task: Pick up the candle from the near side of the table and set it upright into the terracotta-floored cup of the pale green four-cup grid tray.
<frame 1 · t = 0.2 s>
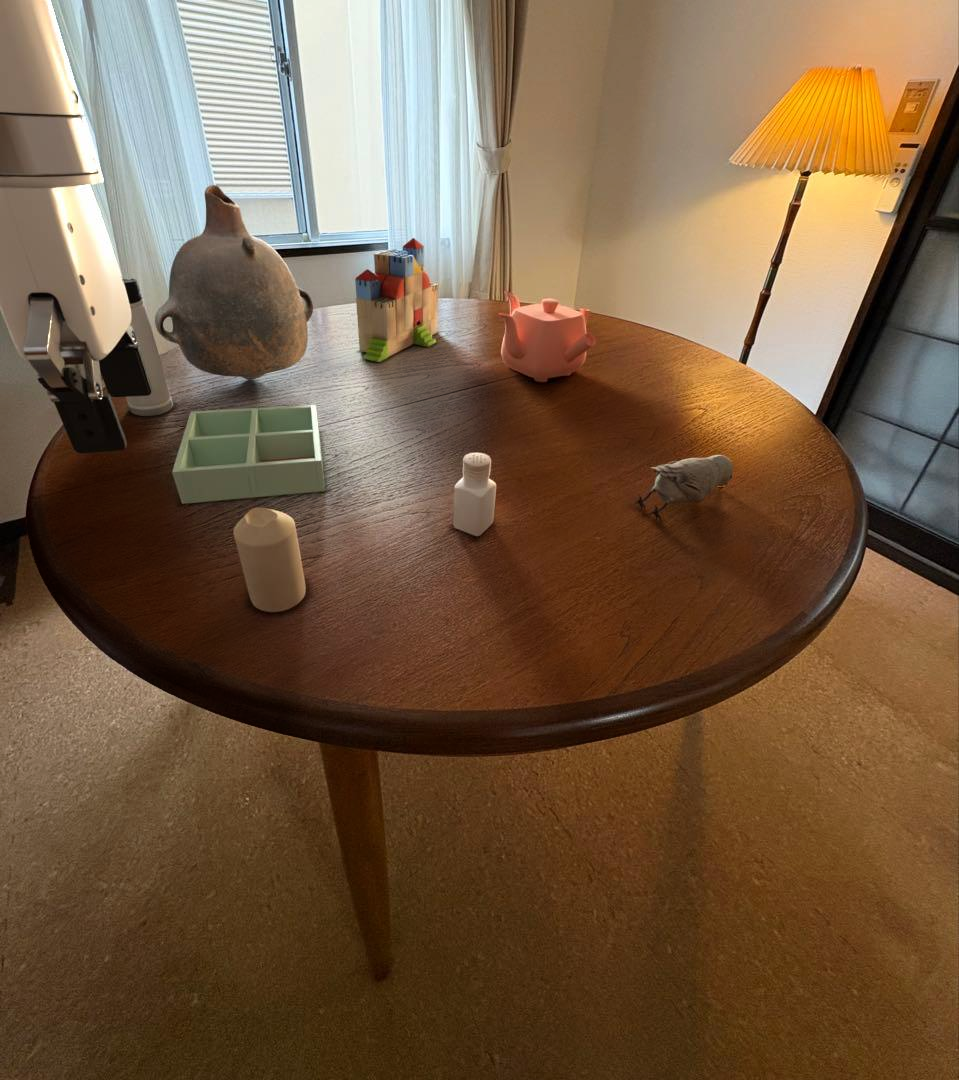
hand: (118, 420, 43), 20 cm above the table, tool pointing down, fingers open, 9 cm apart
block set: (400, 342, 124), on the table
travel mug: (152, 410, 91), on the table
salt shaker: (472, 527, 70), on the table
jug: (253, 380, 103), on the table
grid: (258, 464, 79), on the table
decorative bird: (682, 503, 77), on the table
teapot: (538, 372, 115), on the table
candle: (279, 595, 58), on the table
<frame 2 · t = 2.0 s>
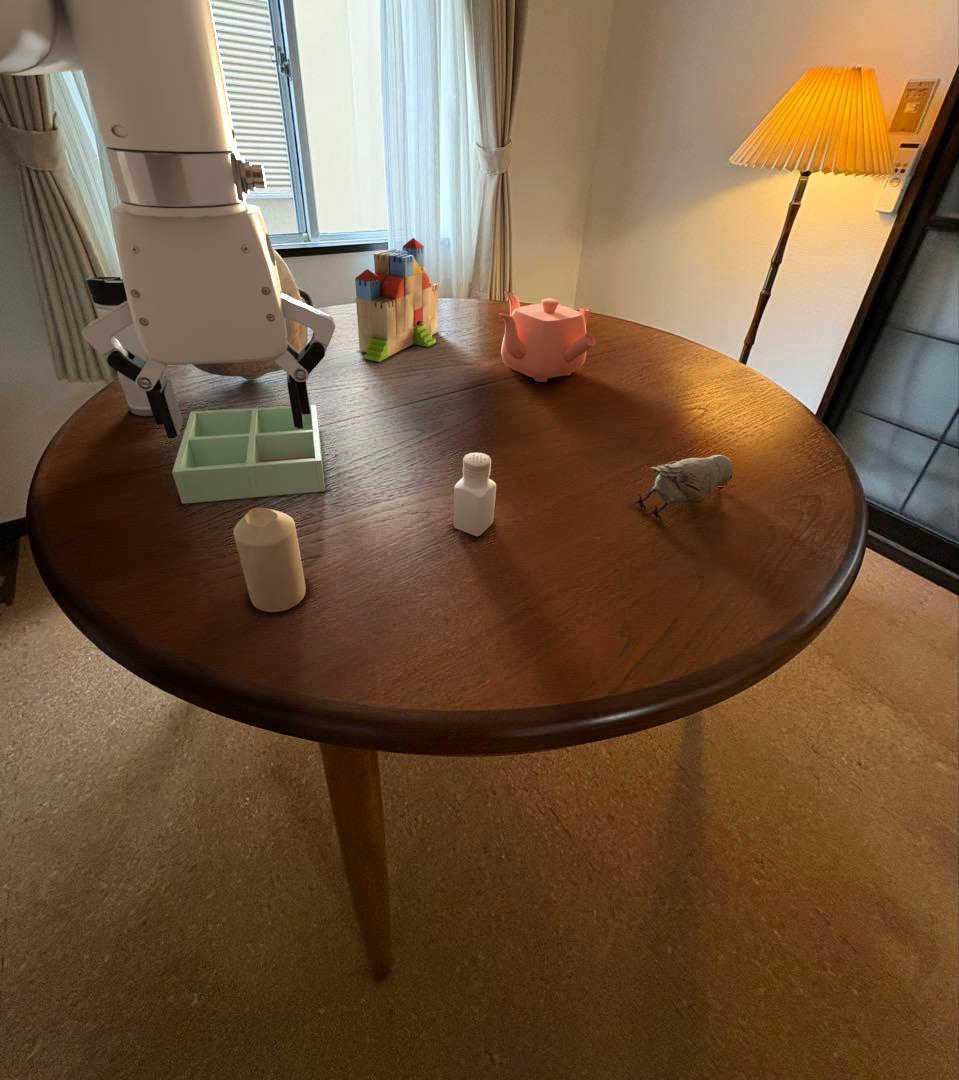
hand: (239, 426, 47), 19 cm above the table, tool pointing down, fingers open, 9 cm apart
nothing on the table moved.
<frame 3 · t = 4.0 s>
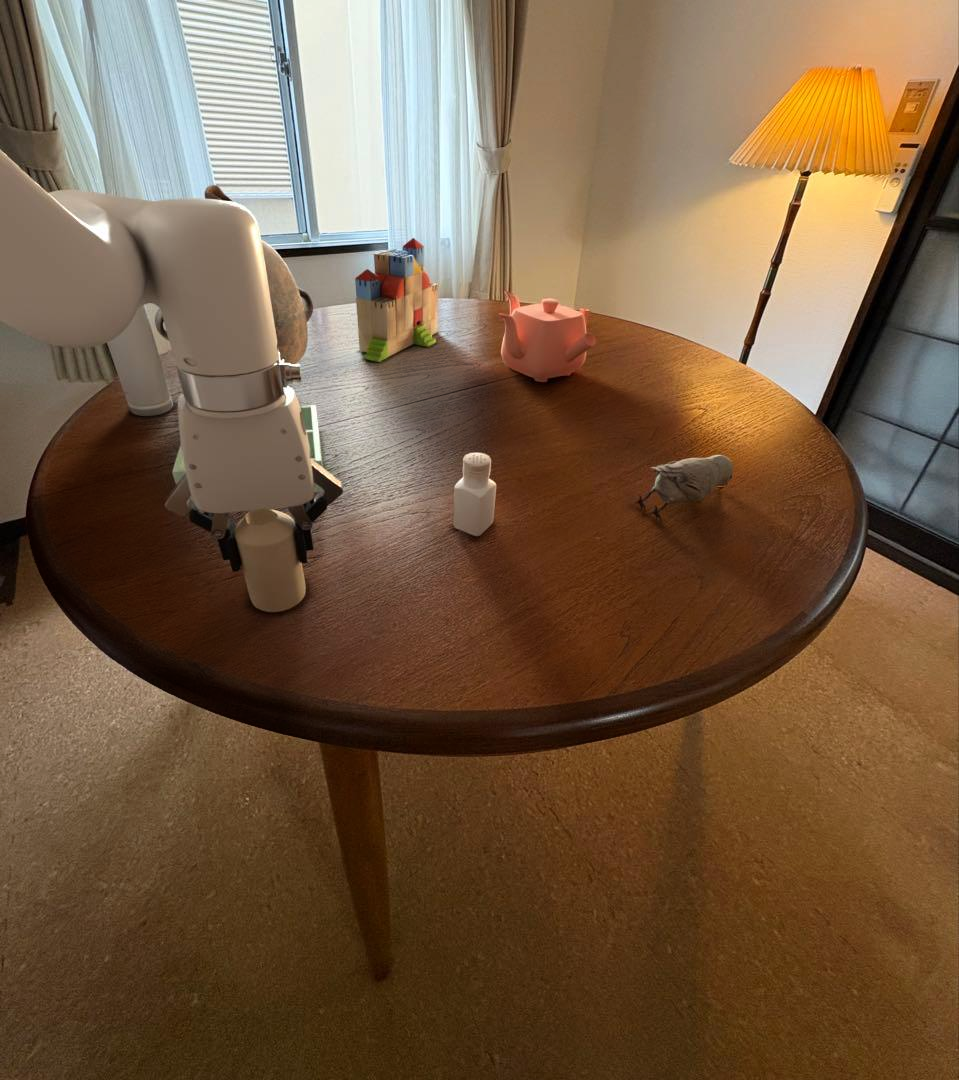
hand: (270, 557, 55), 5 cm above the table, tool pointing down, fingers closed on candle, 5 cm apart
candle: (279, 595, 58), on the table, touching gripper
everything else where it was.
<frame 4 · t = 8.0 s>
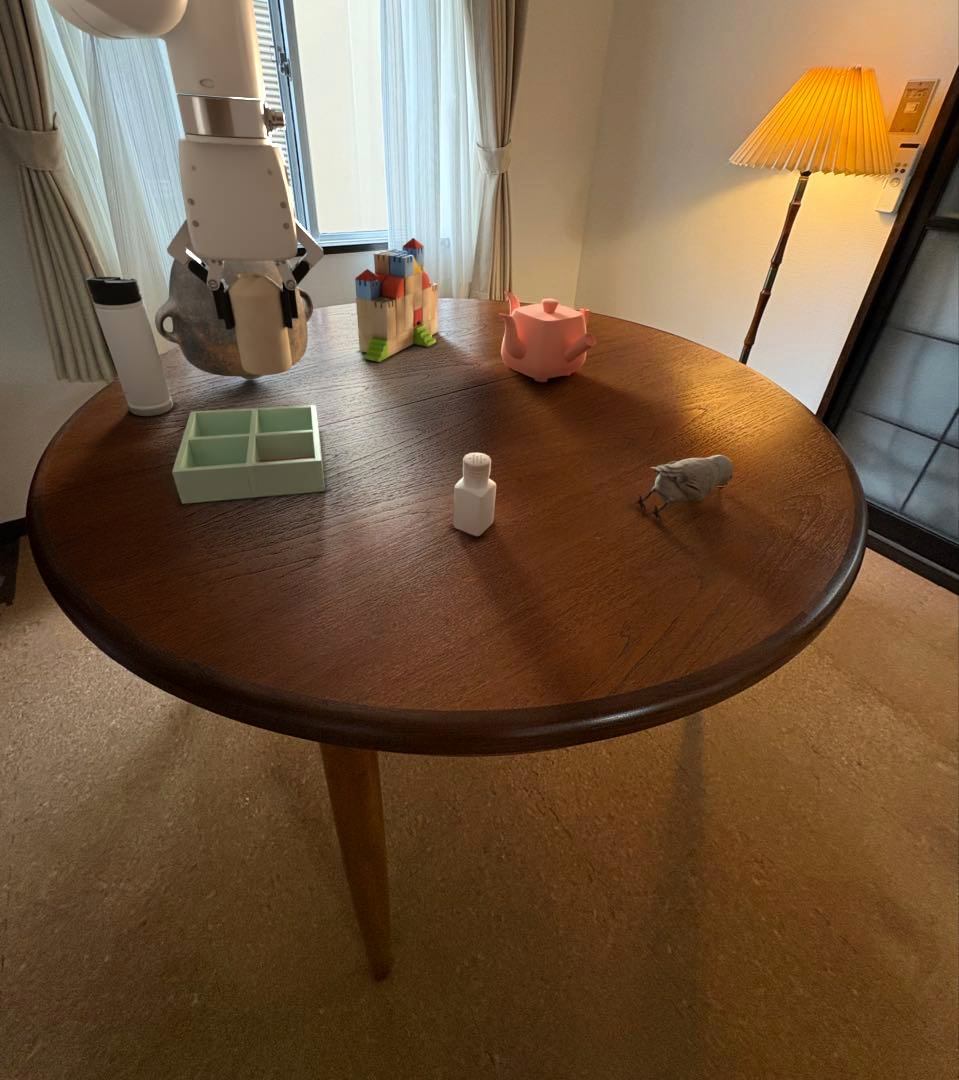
hand: (260, 323, 62), 21 cm above the table, tool pointing down, fingers closed on candle, 5 cm apart
candle: (268, 368, 65), point 16 cm above the table, touching gripper
everything else where it was.
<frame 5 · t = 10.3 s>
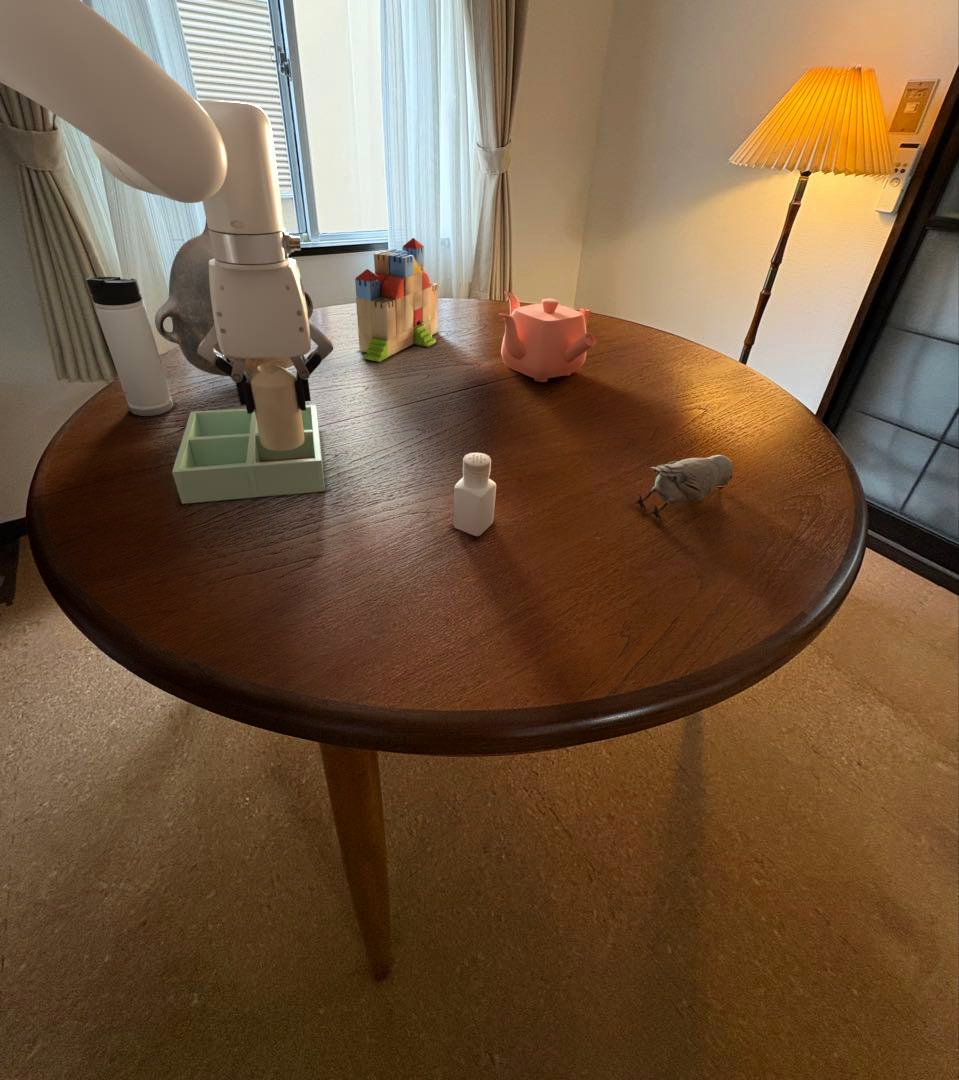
hand: (277, 406, 70), 10 cm above the table, tool pointing down, fingers closed on candle, 5 cm apart
candle: (283, 442, 73), point 5 cm above the table, touching gripper
everything else where it was.
when the fingers open (6 cm above the table, at t = 11.9 s): candle stays where it is, resting on grid.
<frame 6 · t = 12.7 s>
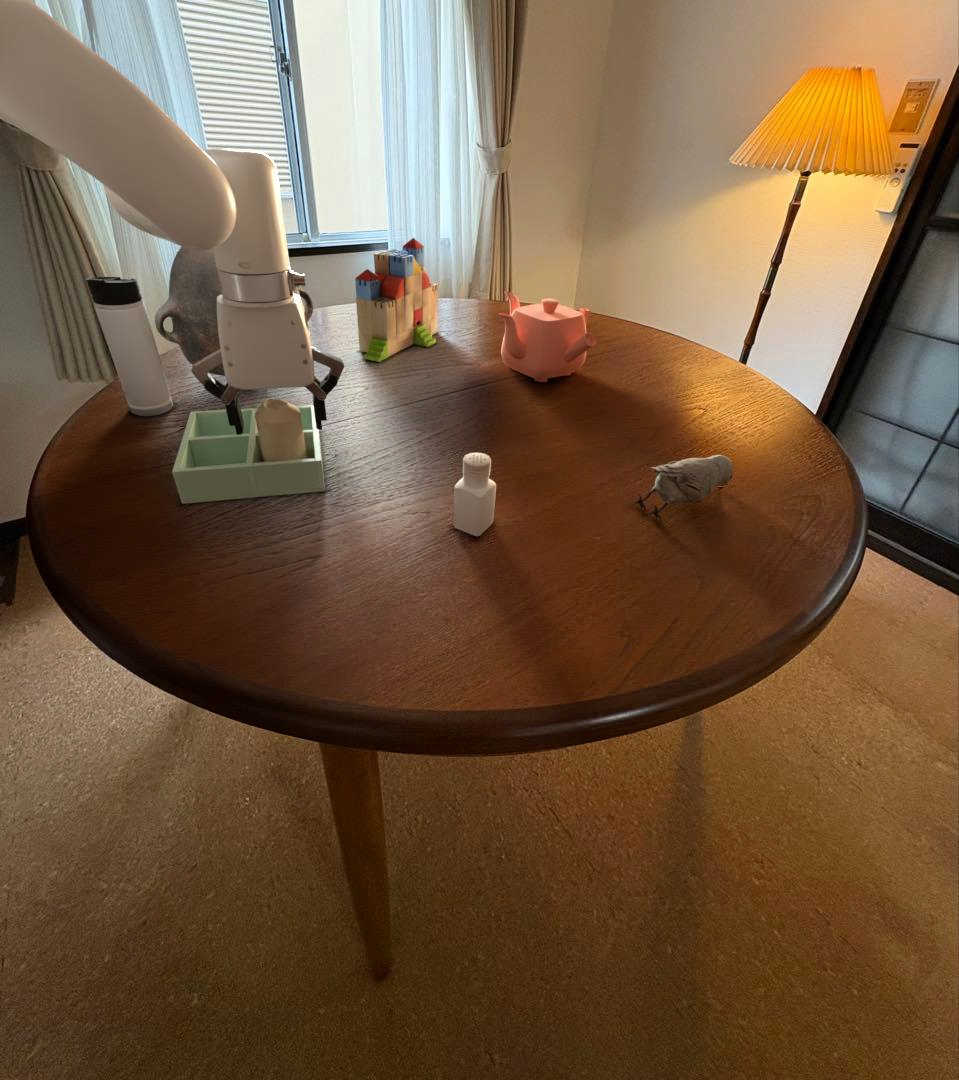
hand: (280, 427, 72), 7 cm above the table, tool pointing down, fingers open, 9 cm apart
candle: (287, 473, 76), point 1 cm above the table, touching grid
everything else where it was.
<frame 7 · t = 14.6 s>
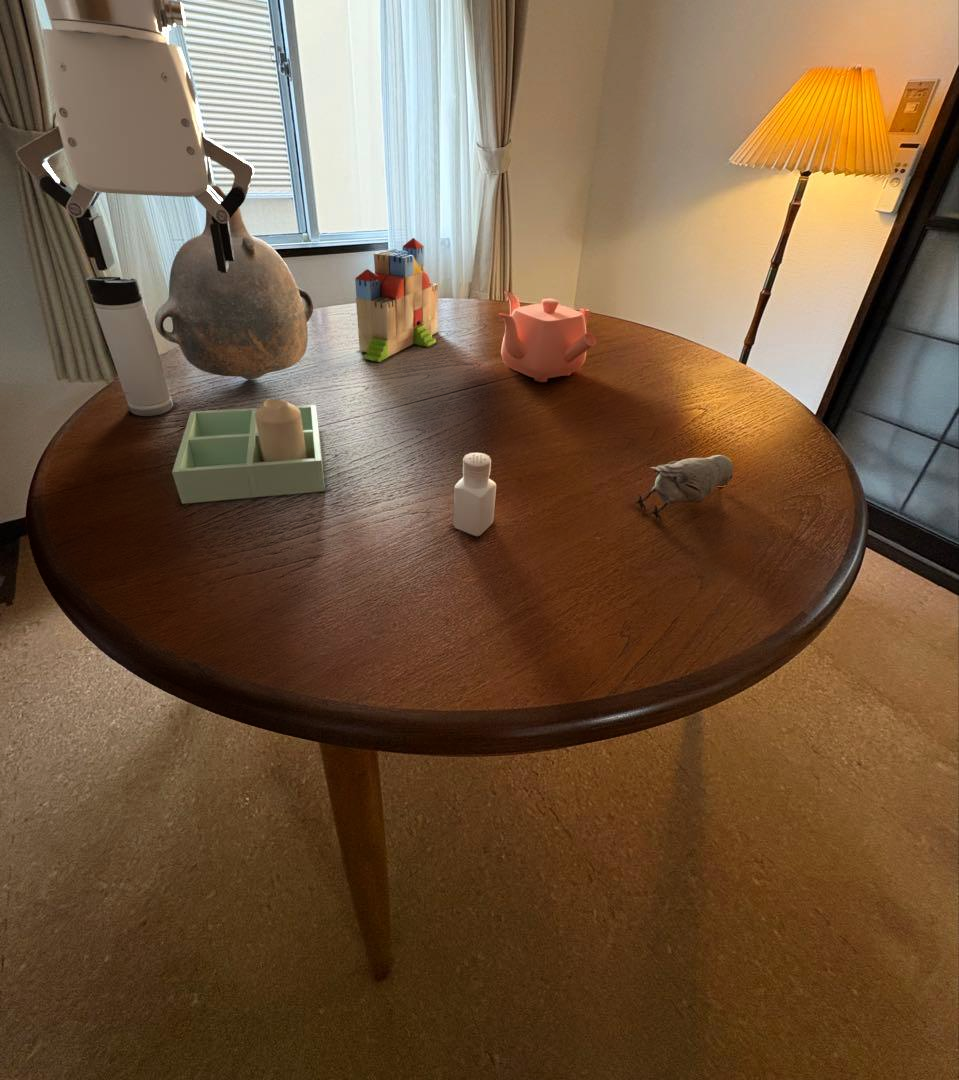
hand: (167, 268, 51), 28 cm above the table, tool pointing down, fingers open, 9 cm apart
nothing on the table moved.
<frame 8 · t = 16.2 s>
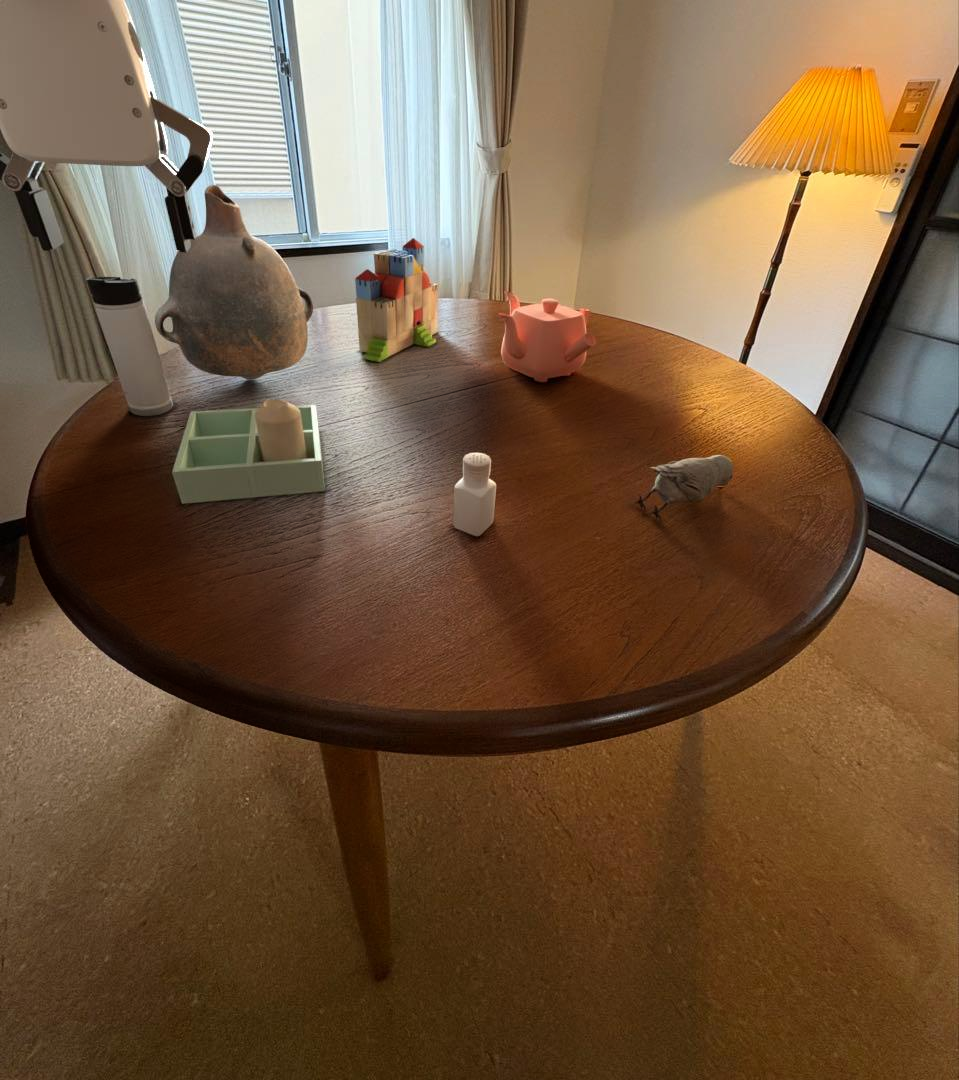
hand: (121, 248, 46), 30 cm above the table, tool pointing down, fingers open, 9 cm apart
nothing on the table moved.
at the end: candle 0.1 cm from the target spot in the grid, point 0.6 cm above the grid's base; candle tilted 0° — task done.
